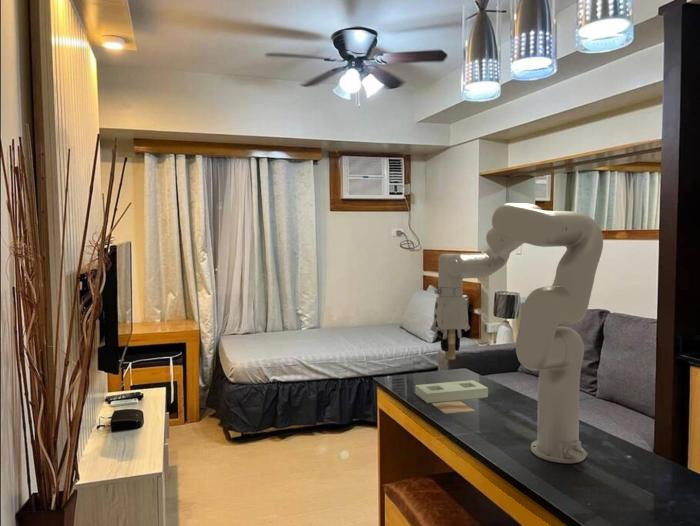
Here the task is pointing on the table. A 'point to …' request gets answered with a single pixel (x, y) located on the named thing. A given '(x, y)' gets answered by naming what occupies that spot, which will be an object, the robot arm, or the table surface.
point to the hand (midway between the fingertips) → (450, 349)
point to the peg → (451, 344)
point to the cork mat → (452, 407)
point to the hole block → (451, 391)
